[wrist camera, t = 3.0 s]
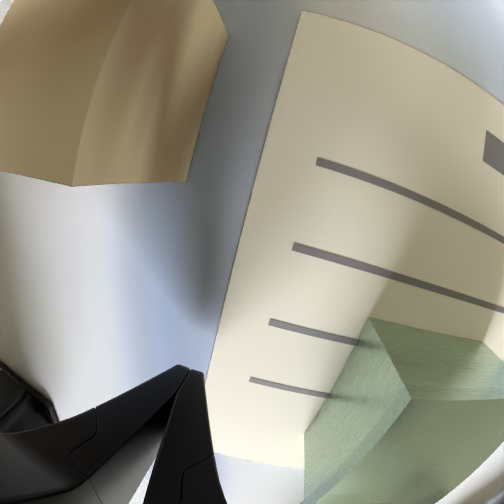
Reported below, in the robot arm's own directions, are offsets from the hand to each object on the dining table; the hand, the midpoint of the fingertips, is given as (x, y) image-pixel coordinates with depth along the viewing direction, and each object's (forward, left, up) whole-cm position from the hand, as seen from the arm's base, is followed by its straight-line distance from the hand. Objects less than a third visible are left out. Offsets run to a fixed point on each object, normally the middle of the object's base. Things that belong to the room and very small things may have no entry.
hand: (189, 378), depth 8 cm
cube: (+8, +4, -2) cm, 9 cm away
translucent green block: (0, -8, -1) cm, 8 cm away
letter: (+3, -7, -2) cm, 8 cm away
